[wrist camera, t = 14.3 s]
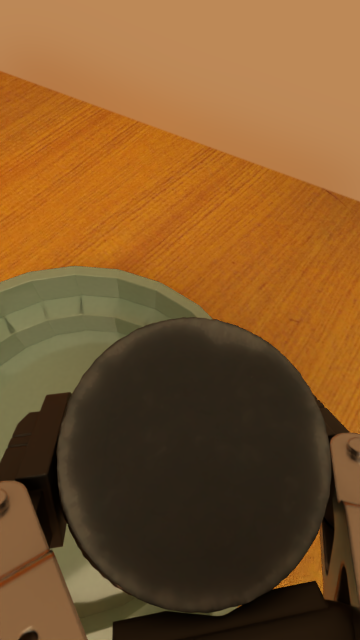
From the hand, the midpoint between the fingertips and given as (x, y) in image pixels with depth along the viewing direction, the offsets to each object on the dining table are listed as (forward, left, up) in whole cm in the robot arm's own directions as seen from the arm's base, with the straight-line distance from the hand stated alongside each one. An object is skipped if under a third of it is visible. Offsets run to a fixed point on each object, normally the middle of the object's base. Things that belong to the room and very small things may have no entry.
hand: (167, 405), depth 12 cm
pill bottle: (0, +2, -5) cm, 6 cm away
